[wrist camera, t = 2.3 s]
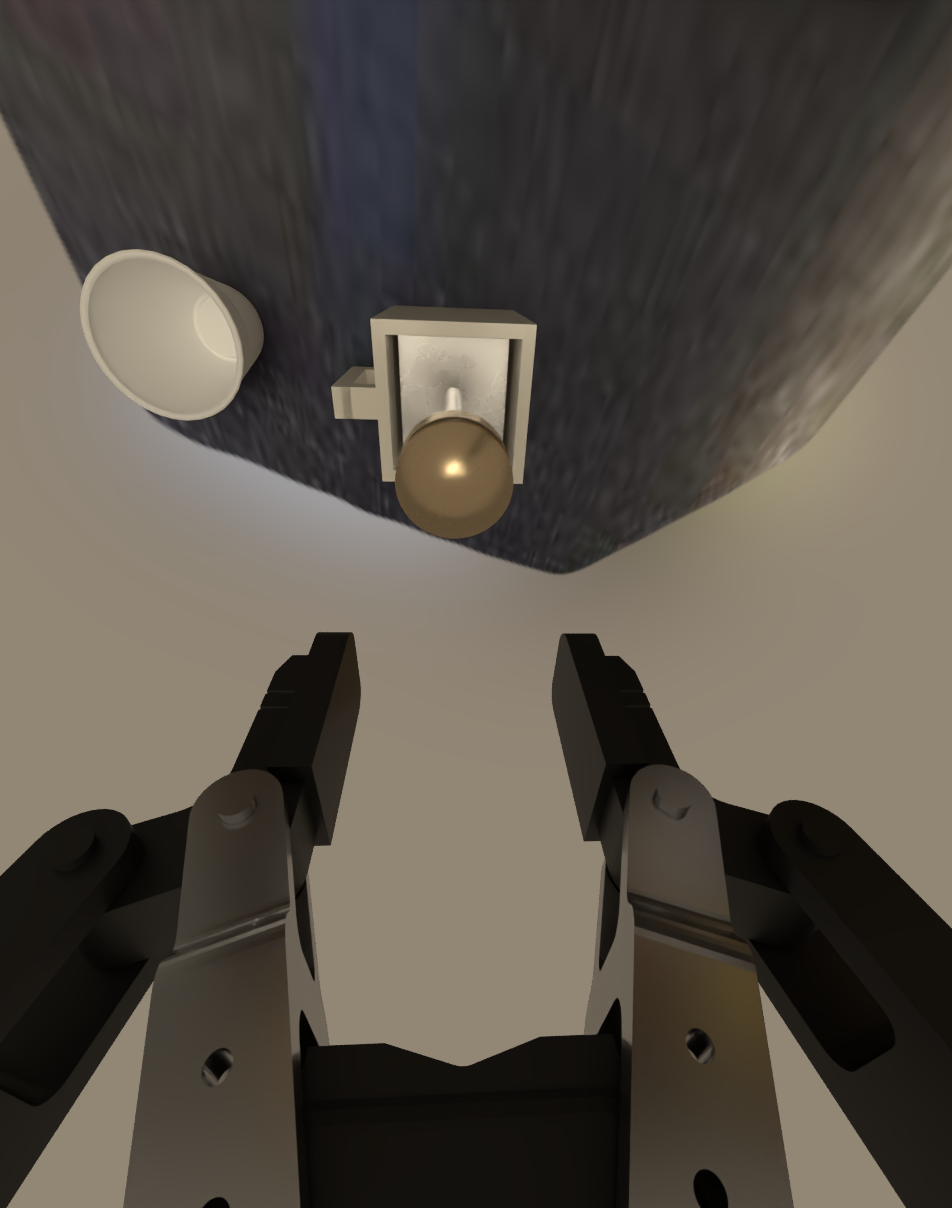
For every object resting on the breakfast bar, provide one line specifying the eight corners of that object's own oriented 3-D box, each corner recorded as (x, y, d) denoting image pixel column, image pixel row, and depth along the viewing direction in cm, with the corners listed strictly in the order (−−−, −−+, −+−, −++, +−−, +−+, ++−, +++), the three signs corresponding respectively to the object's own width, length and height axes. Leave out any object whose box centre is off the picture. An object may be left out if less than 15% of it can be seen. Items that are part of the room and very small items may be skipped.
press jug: (513, 309, 41) (537, 324, 30) (505, 431, 47) (522, 483, 35) (357, 304, 40) (319, 316, 29) (367, 428, 46) (339, 480, 35)
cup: (169, 228, 37) (77, 215, 28) (299, 290, 40) (254, 296, 31) (159, 360, 42) (78, 385, 33) (275, 408, 45) (231, 443, 36)
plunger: (508, 337, 34) (554, 391, 19) (501, 447, 38) (534, 564, 23) (398, 333, 34) (354, 386, 18) (404, 444, 38) (371, 562, 23)
